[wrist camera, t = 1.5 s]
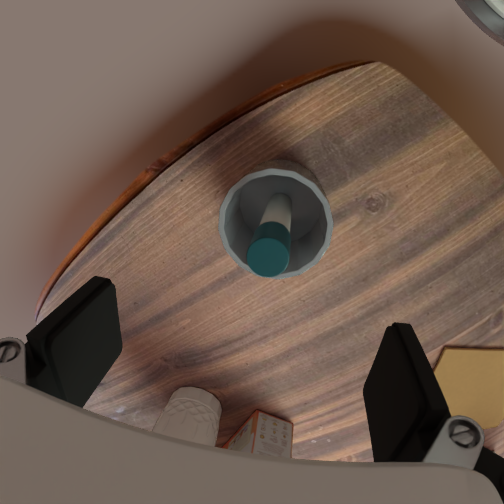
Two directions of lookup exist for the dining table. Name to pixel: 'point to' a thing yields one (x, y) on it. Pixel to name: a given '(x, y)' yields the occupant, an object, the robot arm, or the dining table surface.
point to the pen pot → (254, 205)
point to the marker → (272, 239)
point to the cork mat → (473, 383)
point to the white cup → (191, 416)
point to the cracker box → (263, 436)
